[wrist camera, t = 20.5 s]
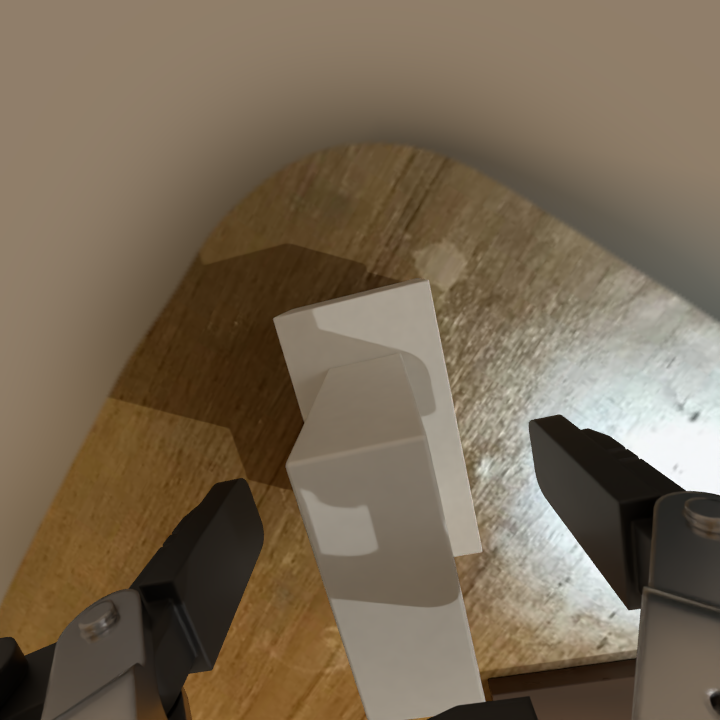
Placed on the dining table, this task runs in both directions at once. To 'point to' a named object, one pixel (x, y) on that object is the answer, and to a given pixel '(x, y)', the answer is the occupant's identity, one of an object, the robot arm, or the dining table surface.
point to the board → (574, 691)
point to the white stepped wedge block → (385, 494)
